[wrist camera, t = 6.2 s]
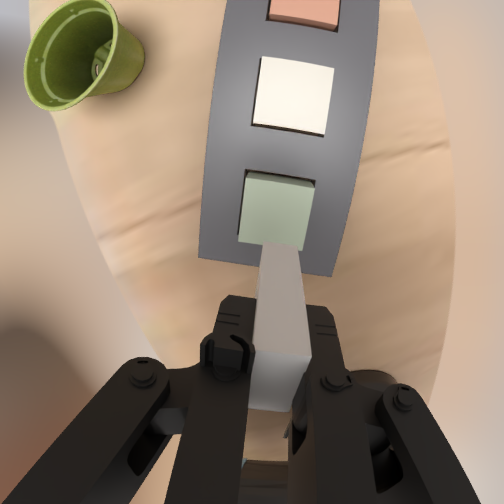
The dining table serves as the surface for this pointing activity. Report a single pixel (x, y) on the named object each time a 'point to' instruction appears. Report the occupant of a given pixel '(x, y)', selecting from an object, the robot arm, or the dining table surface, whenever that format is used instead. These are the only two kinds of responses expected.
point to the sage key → (275, 209)
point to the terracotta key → (306, 13)
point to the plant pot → (80, 55)
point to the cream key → (293, 94)
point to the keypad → (281, 141)
